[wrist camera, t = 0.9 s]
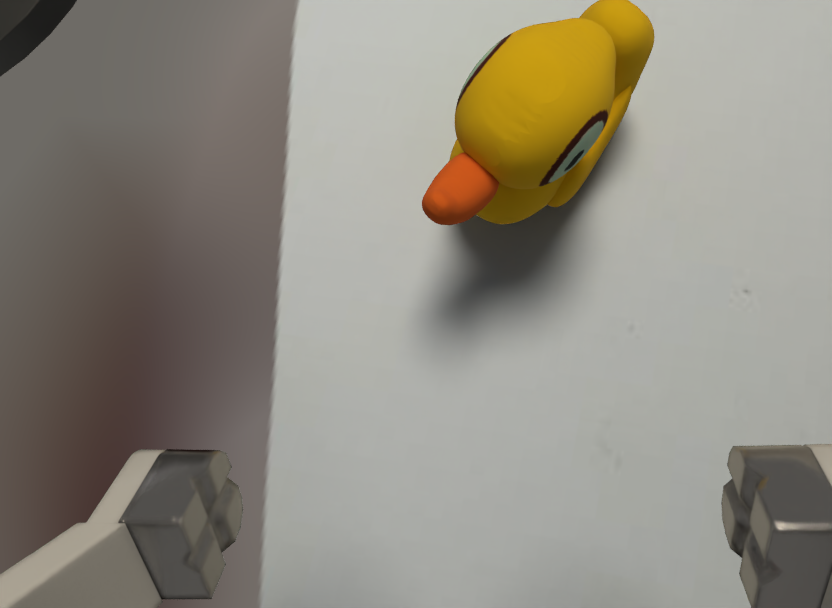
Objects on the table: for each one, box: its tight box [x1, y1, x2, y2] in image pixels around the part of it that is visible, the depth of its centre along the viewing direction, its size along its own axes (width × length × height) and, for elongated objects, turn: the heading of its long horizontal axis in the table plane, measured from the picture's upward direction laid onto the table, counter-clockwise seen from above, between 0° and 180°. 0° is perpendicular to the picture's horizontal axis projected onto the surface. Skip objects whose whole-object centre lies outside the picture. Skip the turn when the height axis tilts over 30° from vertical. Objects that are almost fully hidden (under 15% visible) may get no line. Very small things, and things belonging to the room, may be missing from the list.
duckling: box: [422, 0, 654, 225], centre depth 25 cm, size 11×5×10 cm, turn 138°
